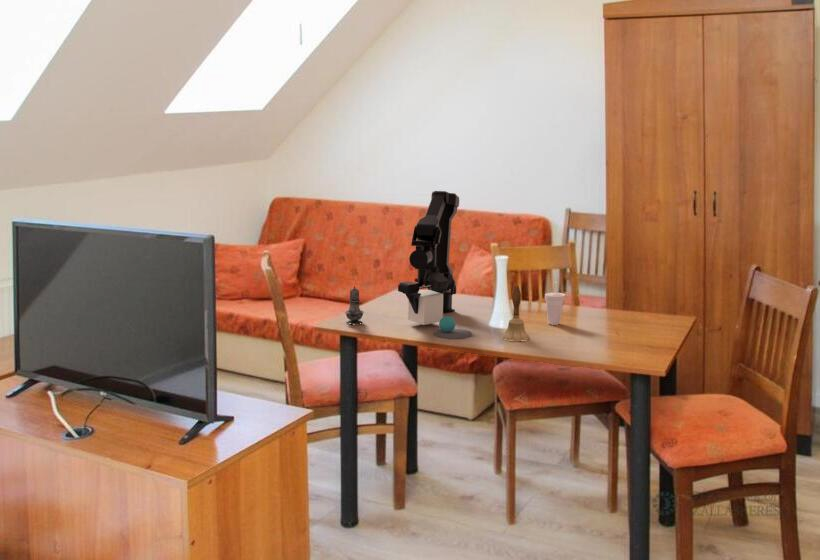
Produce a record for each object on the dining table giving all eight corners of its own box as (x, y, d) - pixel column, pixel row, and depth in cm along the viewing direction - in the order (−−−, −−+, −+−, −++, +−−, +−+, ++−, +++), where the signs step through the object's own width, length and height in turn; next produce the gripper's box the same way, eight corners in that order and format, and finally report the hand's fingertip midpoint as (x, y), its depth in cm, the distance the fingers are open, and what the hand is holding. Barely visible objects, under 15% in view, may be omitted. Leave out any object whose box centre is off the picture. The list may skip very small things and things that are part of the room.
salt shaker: (361, 325, 305) (361, 288, 303) (343, 324, 306) (342, 287, 304) (365, 321, 311) (365, 284, 309) (347, 320, 312) (347, 283, 310)
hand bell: (503, 341, 288) (505, 289, 285) (500, 334, 296) (502, 283, 293) (531, 342, 288) (533, 289, 285) (528, 334, 297) (529, 283, 293)
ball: (460, 323, 296) (454, 334, 300) (452, 311, 299) (446, 322, 302) (448, 326, 293) (441, 337, 297) (439, 313, 296) (433, 325, 299)
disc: (454, 327, 305) (454, 326, 305) (480, 334, 296) (480, 334, 296) (425, 332, 297) (425, 332, 297) (451, 341, 288) (451, 340, 288)
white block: (426, 316, 311) (427, 289, 310) (442, 321, 306) (443, 293, 304) (408, 319, 307) (408, 292, 305) (423, 324, 301) (424, 297, 299)
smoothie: (566, 323, 311) (568, 280, 309) (560, 327, 306) (562, 283, 303) (547, 320, 314) (548, 278, 311) (541, 325, 308) (542, 281, 305)
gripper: (420, 270, 290) (419, 321, 293) (466, 263, 302) (465, 312, 305) (397, 264, 299) (396, 314, 302) (443, 258, 310) (442, 305, 313)
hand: (426, 311), depth 305 cm, fingers closed on white block, 8 cm apart
